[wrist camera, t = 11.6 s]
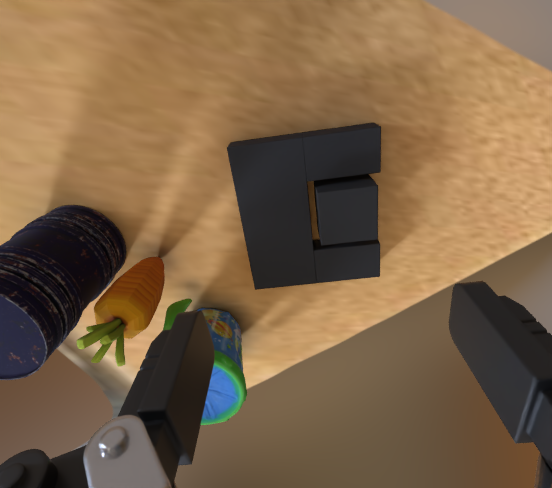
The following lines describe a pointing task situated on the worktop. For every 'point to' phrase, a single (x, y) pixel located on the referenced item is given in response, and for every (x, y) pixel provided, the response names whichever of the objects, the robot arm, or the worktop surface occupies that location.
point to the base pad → (300, 203)
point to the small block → (346, 209)
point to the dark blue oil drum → (52, 282)
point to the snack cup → (219, 363)
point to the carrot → (126, 308)
